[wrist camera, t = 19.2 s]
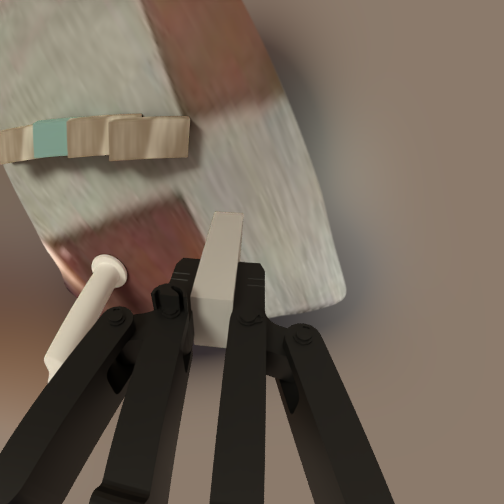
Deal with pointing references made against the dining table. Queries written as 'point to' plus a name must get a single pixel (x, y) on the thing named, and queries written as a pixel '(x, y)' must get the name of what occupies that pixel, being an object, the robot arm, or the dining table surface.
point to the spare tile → (50, 138)
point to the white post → (85, 309)
